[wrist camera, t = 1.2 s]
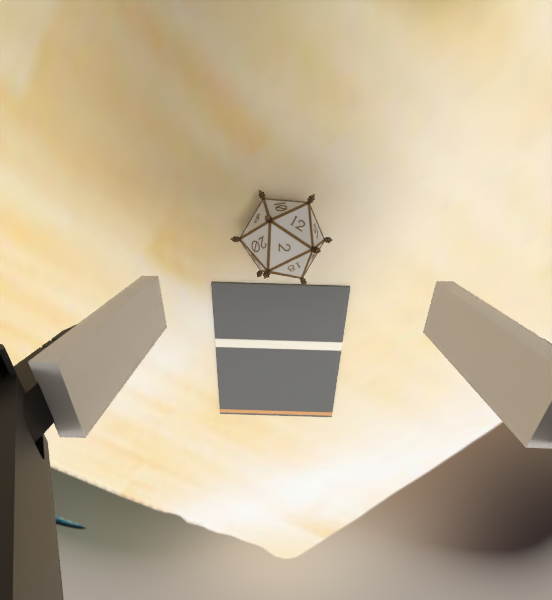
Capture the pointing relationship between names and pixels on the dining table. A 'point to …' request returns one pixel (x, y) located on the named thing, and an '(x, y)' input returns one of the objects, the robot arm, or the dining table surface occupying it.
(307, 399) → the lane mat
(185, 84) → the dining table surface
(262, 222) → the game die
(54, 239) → the dining table surface
